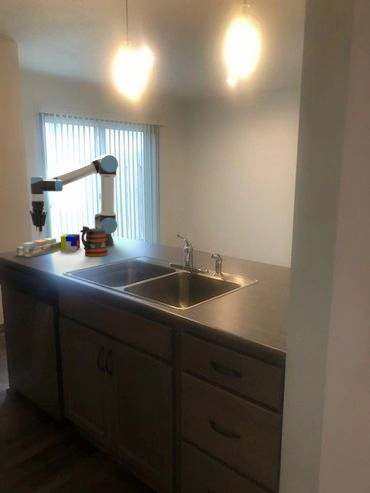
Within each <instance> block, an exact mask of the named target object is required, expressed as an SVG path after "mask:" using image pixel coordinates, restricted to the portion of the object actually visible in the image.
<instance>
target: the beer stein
mask: <svg viewBox="0 0 370 493" xmlns="http://www.w3.org/2000/svg"><path fill="white" fill-rule="evenodd" d="M79 232H80V233H81V235H80V241H81V243H82V245H83V249H84V255H85V256H87V257H91V258H94V257H97V258H99V257H105V256H108V250H109V249H108V246H106V234H105V230H103V228H101V229H100V228H95V227H93V228H92V227H91V228H90V227H88V226H86V225H83V226H82V230H81V229H80V231H79Z"/></svg>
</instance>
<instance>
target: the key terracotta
mask: <svg viewBox="0 0 370 493" xmlns="http://www.w3.org/2000/svg"><path fill="white" fill-rule="evenodd" d="M32 242H34V243H37V246H42V245H47V241H46V240H43V239H38V240H33V241H32Z"/></svg>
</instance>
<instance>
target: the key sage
mask: <svg viewBox="0 0 370 493" xmlns="http://www.w3.org/2000/svg"><path fill="white" fill-rule="evenodd" d="M42 240H46V241H47V243H48V244H51V243H55V242H56V241H57V238H55V237H47V238H43V239H42Z"/></svg>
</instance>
